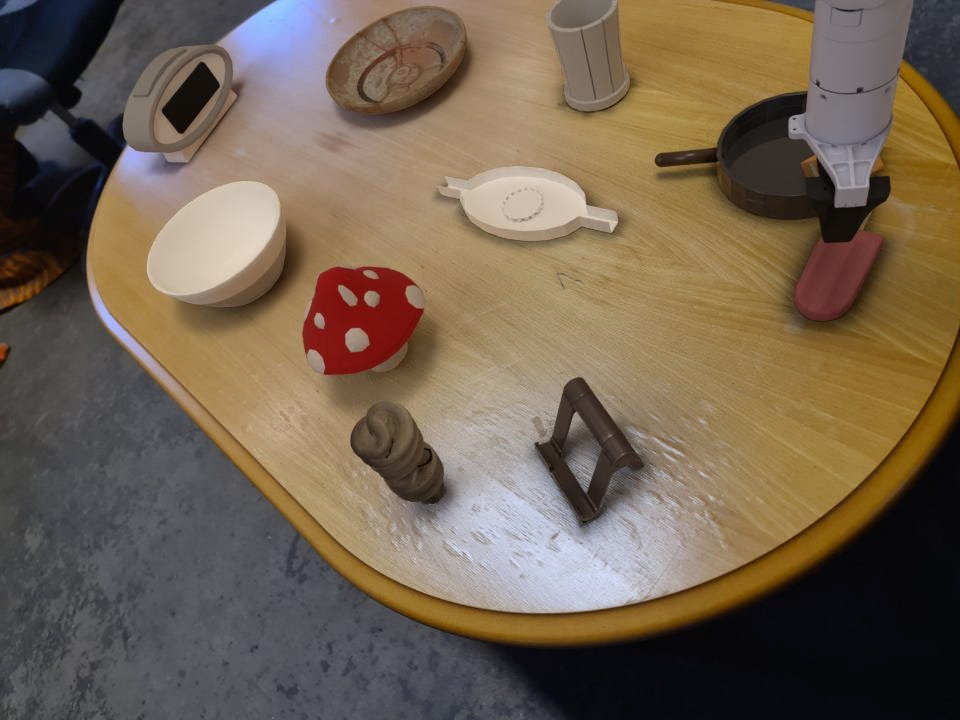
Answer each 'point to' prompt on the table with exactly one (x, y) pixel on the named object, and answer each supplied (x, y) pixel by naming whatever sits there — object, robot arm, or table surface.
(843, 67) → the robot arm
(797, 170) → the pan
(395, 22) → the ceramic bowl
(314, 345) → the decorative mushroom
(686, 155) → the pan handle
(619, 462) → the tablet stand
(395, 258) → the table surface
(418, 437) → the brown twisted statue
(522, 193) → the shallow oval tray
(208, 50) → the alarm clock
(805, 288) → the popsicle
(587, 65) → the cup
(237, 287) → the bowl
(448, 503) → the table surface
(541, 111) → the table surface
